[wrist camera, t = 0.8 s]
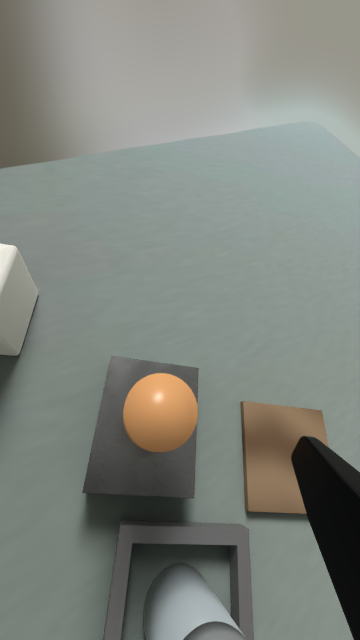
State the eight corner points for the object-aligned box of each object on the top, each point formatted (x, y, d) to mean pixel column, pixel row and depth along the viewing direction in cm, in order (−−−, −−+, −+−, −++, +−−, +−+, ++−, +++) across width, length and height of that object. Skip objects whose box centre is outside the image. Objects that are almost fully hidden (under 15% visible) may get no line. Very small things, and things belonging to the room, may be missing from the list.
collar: (247, 716, 17) (258, 739, 15) (89, 732, 15) (87, 759, 14) (240, 524, 21) (248, 528, 20) (120, 520, 20) (120, 525, 18)
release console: (184, 492, 21) (193, 498, 19) (86, 487, 20) (82, 492, 18) (190, 376, 26) (198, 368, 24) (111, 365, 25) (111, 355, 22)
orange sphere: (179, 454, 18) (196, 455, 14) (116, 449, 17) (117, 448, 13) (183, 391, 20) (199, 377, 16) (127, 384, 19) (130, 368, 16)
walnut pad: (336, 513, 23) (341, 515, 23) (245, 509, 22) (248, 511, 21) (317, 411, 28) (321, 410, 27) (240, 402, 26) (243, 401, 26)
